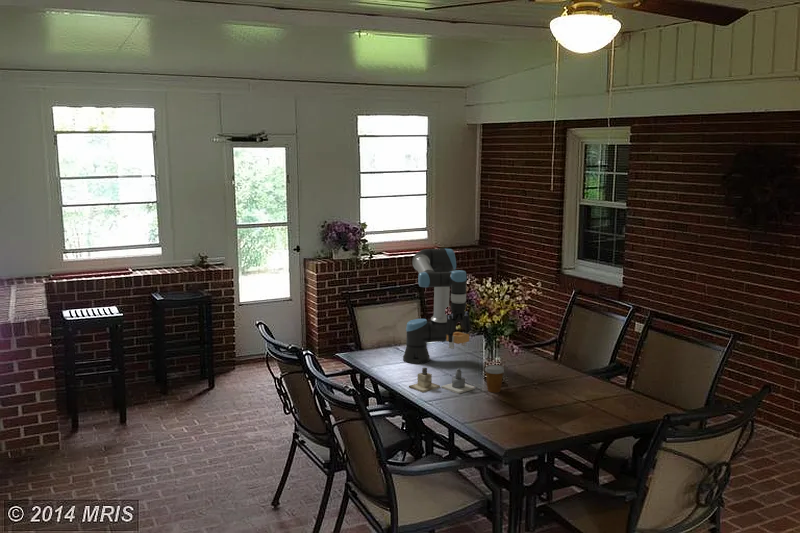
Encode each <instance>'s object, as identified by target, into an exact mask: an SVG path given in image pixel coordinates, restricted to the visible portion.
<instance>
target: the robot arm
mask: <svg viewBox="0 0 800 533" xmlns="http://www.w3.org/2000/svg"><path fill="white" fill-rule="evenodd" d="M455 254H456V253H455V251H454V249H452V248H446V247H445V248H425V249H421V250H418V252H416V253H414V256H413V257H412V259H411V260H412V261H411V264H412V267H413V269H414V270H415V271H417V273H418V276H417V277H418V278H417V280H418V281H417V284H418V286H419V287H420V288H433V294H434V295H433V315H432V316H431V317H430V321H428V320H427V319H426V318H415V319H411V320H408V321H407V323H406V328H405V331H406V333H405V334H406V338H405V339H406V340H405V341H406V342H405V343H406V345H405V350H404V354H403V356H402V360H403V362H404V363H409V364H426V363H428V362H430V360H431V359H430V357H431V356H430V354H429V350H428V347H427V346H428V345H427V344H428V343H447V342H448V349H451V350H454V349H455V343H454V336H453V333H454V332H455V329H456V326H457V324H458V323H459V324H460V326H461V329H462V332H461V333H465V334H470V331H471V322H470V314H471V313H470V311H466V310H467V303H466V301H467V272H466V270H462V269H461V270H459V269H457V258H456V255H455ZM450 301H451V302H450ZM447 307H449V308H450V311H451V314H450V313H449V315H446V314H445V309H446V308H447ZM447 335H448V341H446V336H447ZM461 346H464V347H467V342H464V343H461Z"/></svg>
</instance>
